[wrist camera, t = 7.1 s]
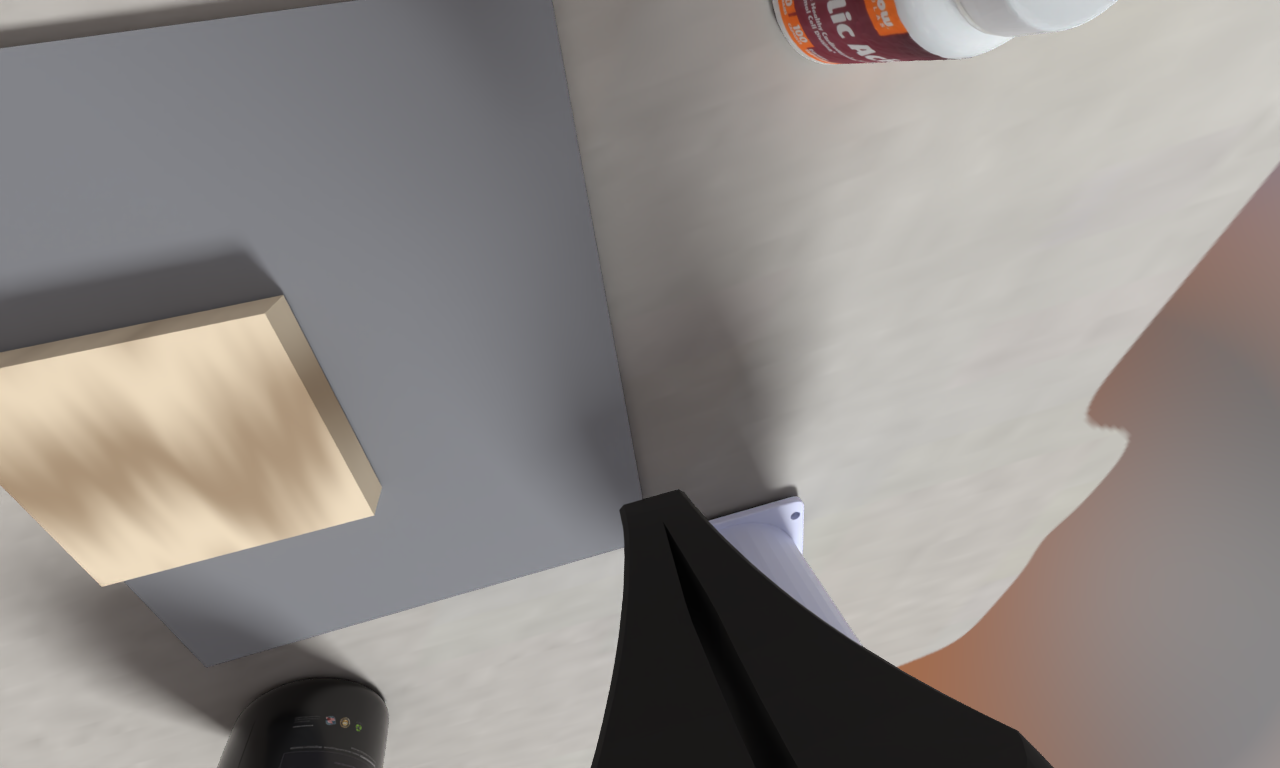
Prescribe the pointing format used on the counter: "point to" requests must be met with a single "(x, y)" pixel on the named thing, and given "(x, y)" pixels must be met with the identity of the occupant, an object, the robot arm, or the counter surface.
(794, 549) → the robot arm
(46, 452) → the tile
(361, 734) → the supplement bottle
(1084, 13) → the pill bottle
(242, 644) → the mat
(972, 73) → the counter surface
